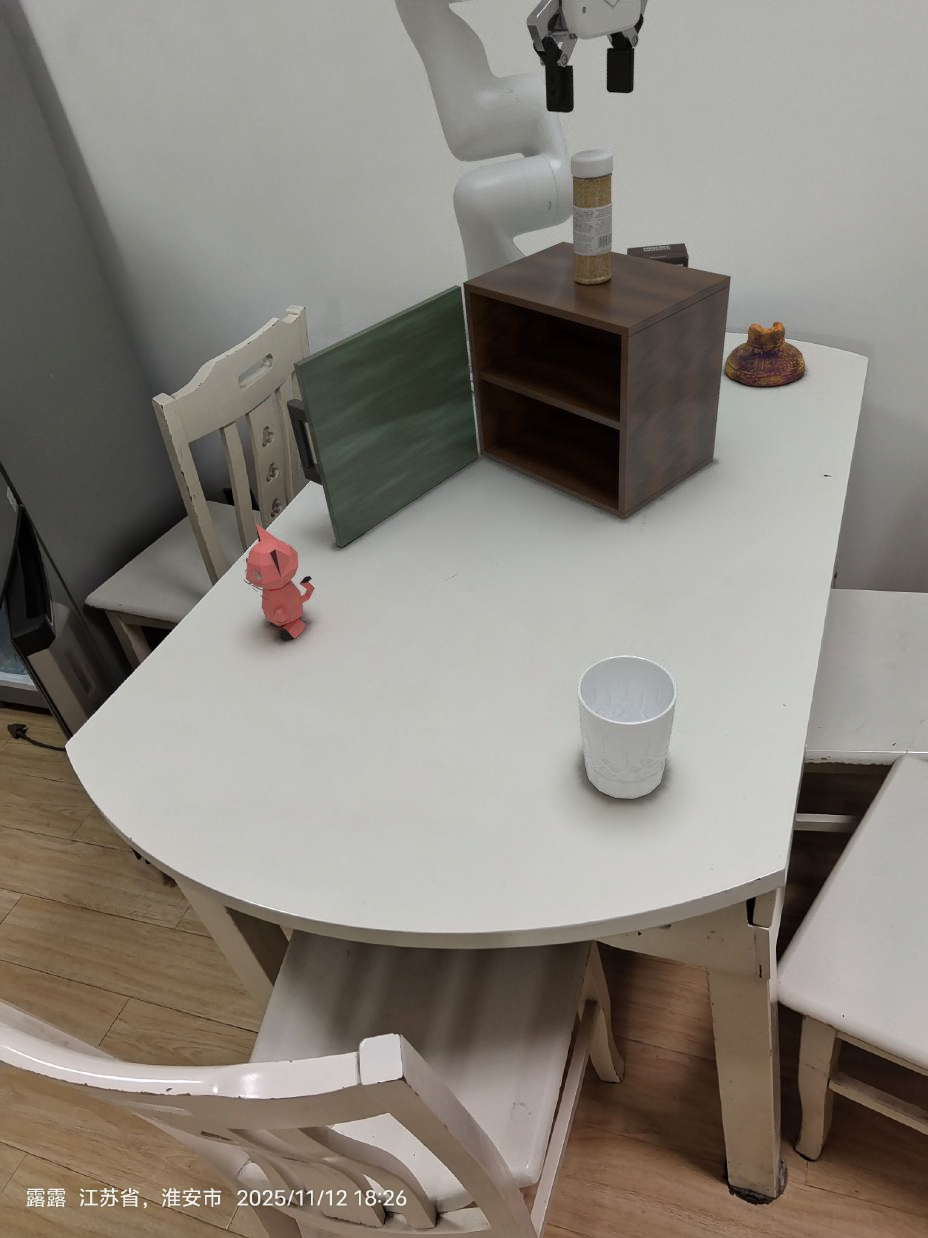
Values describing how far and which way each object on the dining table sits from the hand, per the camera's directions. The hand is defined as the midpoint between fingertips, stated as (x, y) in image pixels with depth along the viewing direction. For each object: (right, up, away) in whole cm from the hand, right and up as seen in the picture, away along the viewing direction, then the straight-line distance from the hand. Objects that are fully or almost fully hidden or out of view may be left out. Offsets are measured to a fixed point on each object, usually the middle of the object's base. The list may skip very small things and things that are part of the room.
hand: (590, 101), depth 89 cm
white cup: (+1, -68, -14) cm, 69 cm away
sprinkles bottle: (+2, -14, +12) cm, 19 cm away
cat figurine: (-32, -55, +6) cm, 64 cm away
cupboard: (+4, -32, +27) cm, 42 cm away
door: (-23, -37, +25) cm, 50 cm away
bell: (+33, -16, +42) cm, 56 cm away
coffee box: (+18, -11, +51) cm, 55 cm away
